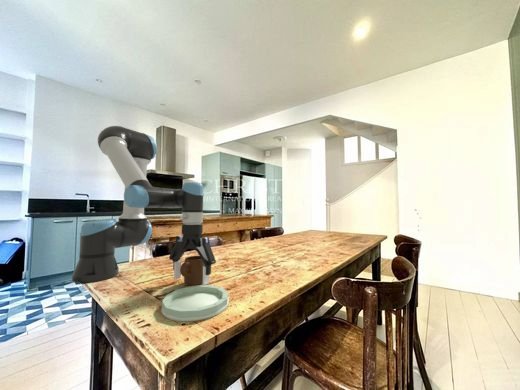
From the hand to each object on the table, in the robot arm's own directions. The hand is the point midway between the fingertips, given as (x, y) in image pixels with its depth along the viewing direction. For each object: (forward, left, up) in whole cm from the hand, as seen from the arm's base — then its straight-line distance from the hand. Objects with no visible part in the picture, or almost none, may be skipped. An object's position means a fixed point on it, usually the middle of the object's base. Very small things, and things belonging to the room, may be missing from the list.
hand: (191, 281), depth 79 cm
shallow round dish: (+13, -12, -1) cm, 18 cm away
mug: (0, 0, -2) cm, 2 cm away
